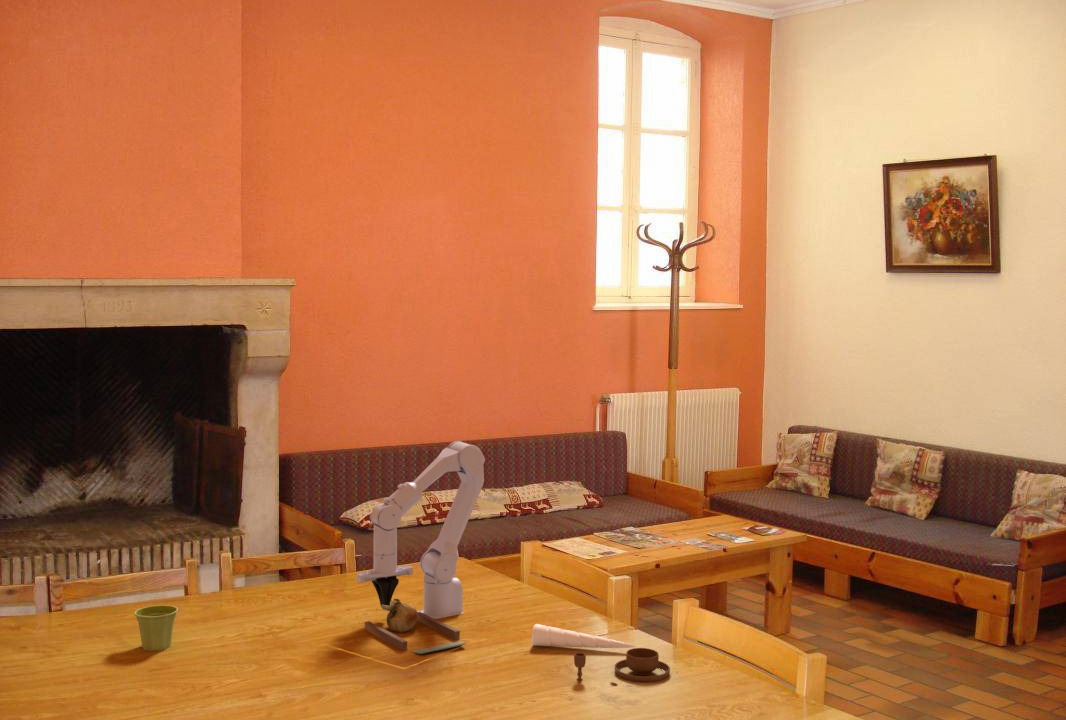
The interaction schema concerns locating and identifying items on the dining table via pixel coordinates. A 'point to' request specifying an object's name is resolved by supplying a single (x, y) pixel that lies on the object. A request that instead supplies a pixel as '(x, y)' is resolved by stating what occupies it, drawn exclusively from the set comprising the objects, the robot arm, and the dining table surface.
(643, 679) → the place setting
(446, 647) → the panel
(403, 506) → the robot arm
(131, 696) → the dining table surface
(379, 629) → the cart frame
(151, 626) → the plant pot
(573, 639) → the unicorn horn
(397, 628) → the onion
